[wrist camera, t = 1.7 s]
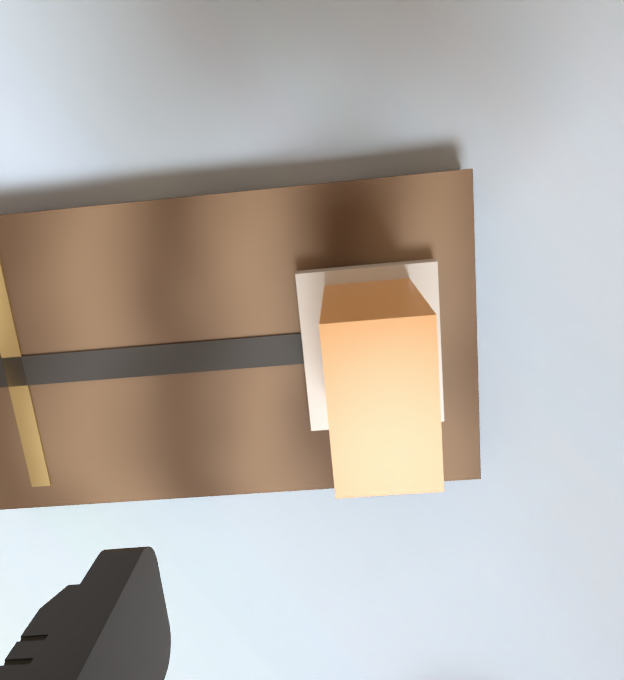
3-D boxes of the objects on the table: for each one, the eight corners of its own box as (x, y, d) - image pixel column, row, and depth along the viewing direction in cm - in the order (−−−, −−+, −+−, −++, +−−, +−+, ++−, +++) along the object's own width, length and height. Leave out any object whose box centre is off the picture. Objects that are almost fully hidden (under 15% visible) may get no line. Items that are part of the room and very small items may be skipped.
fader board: (461, 169, 23) (473, 168, 21) (470, 456, 26) (481, 480, 24) (-86, 223, 24) (-124, 227, 22) (-17, 489, 27) (-45, 513, 25)
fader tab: (433, 258, 21) (475, 291, 15) (440, 413, 23) (481, 505, 16) (296, 271, 22) (278, 308, 15) (312, 422, 23) (301, 516, 17)
